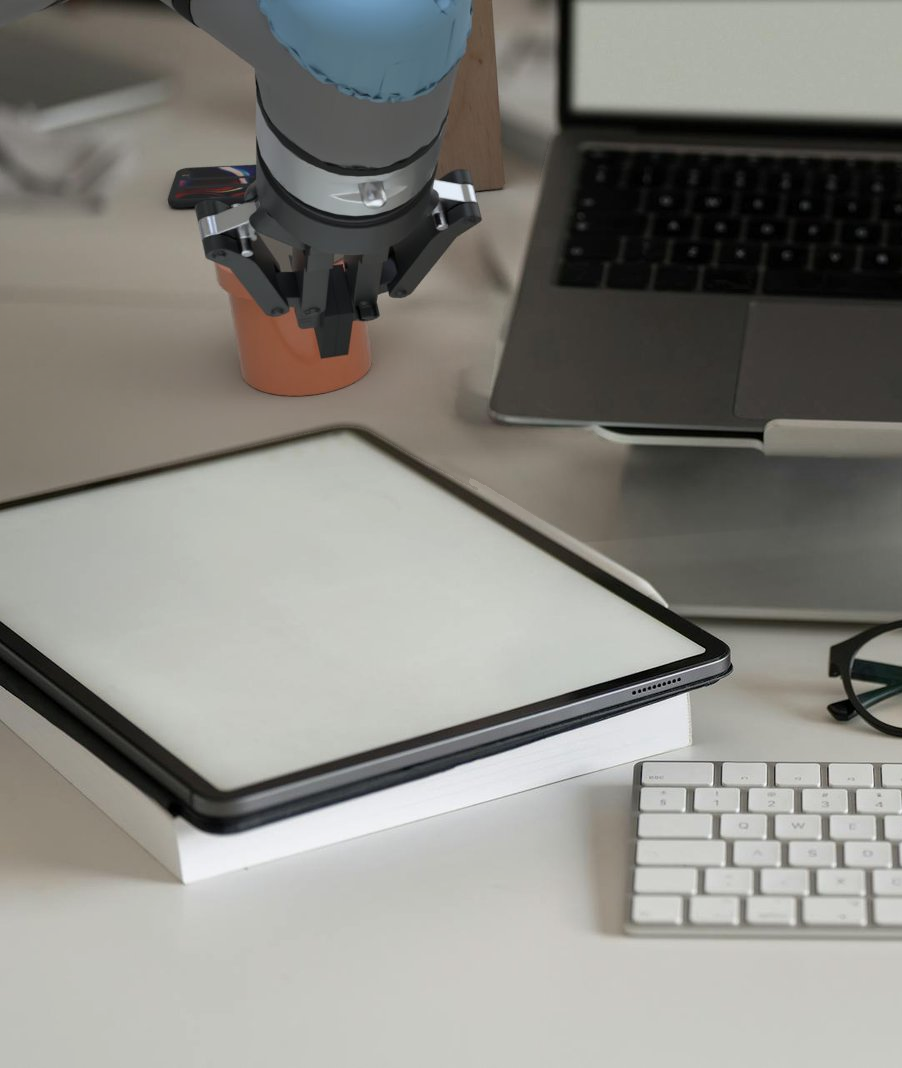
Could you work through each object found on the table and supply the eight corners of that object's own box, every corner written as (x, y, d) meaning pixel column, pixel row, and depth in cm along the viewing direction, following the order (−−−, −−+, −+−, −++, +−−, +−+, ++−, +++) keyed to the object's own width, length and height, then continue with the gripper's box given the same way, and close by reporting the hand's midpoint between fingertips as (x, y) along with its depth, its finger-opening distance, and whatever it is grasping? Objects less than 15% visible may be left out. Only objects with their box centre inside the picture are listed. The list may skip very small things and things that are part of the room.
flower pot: (204, 388, 105) (182, 265, 100) (279, 327, 112) (261, 210, 108) (338, 409, 103) (321, 285, 98) (404, 345, 110) (391, 228, 106)
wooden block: (389, 201, 131) (363, -38, 121) (381, 180, 134) (355, -54, 124) (505, 189, 133) (489, -46, 123) (494, 169, 137) (478, -61, 127)
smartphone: (176, 167, 133) (372, 158, 136) (178, 175, 134) (373, 166, 136) (165, 202, 127) (370, 192, 130) (166, 210, 128) (371, 200, 130)
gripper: (206, 243, 69) (220, 417, 91) (520, 203, 73) (461, 378, 95) (169, 74, 70) (192, 287, 92) (481, 45, 74) (432, 254, 96)
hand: (329, 333), depth 93 cm, fingers closed
